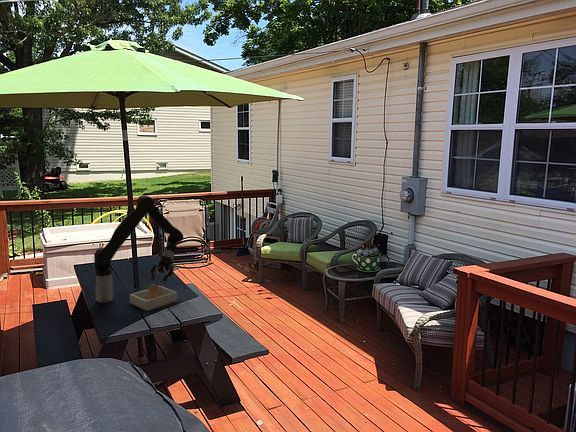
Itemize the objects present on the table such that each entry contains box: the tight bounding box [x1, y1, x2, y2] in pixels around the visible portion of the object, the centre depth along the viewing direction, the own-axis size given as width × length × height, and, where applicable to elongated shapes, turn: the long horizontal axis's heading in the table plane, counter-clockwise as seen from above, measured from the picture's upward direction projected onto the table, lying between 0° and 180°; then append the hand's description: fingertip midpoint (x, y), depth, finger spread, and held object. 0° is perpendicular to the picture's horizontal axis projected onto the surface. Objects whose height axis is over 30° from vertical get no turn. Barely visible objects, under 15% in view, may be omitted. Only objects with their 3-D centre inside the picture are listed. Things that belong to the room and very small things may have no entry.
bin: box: [129, 285, 178, 312], centre depth 286 cm, size 22×18×6 cm
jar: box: [148, 283, 159, 300], centre depth 286 cm, size 6×6×10 cm
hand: (158, 280), depth 290 cm, fingers open, 8 cm apart
